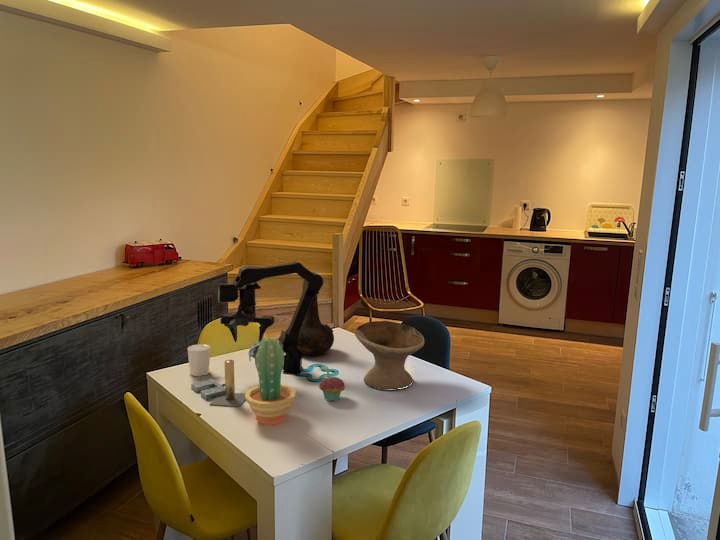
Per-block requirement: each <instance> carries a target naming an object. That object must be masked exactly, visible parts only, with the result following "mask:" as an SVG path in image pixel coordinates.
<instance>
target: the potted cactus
mask: <svg viewBox="0 0 720 540" xmlns="http://www.w3.org/2000/svg"><path fill="white" fill-rule="evenodd" d="M284 356H285V353H284V351H283V349H282V348H281V346H280V345H279V341H278V339H276V337H273V338H270V337H266V338H263V339H262V340H261V341H260V342H259V341H255V343H253V344H252V345H251V347H250V349H249V351H248V361H249V362H250V363H251V362H252V358H253V359H254V363H255V364H254V366H255V369H256V371H257V373H258V384H259V385H258V386H254V387H252V388H250V389H248V390H247V391H246V392H245V393H244V394H245V399H246V400H245V402H246V403H248V405H249V407H250V410H251V412H252V413H254V415H255V416H256V418H255V421H256V422H257V423H258V424H261V425H269V426H270V425H271V426H272V425H276V424H281V423H282V422H284V421H285V419H286V414H287V413H288V411H289V410H290V407H291V404H292V402H294V400H295V397H296V390H295V389H293V388H292V387H291V386H288V385H284V384H281V383H282V373H283V366H284Z"/></svg>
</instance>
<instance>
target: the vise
mask: <svg viewBox="0 0 720 540" xmlns="http://www.w3.org/2000/svg"><path fill="white" fill-rule="evenodd" d="M190 387H191V390H192V389H193V392H195V393H200V397H201V398H202V399H204V400H205V401H209V400H214V399H215V398H216V397H217V396H220V395H224V394H225V383H221V384H220V383H219V382H217V381H216V380H215V379H213V378H209V379H205V380H201V381H197V382H194V383H191V385H190Z"/></svg>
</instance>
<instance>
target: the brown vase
mask: <svg viewBox="0 0 720 540" xmlns="http://www.w3.org/2000/svg"><path fill="white" fill-rule="evenodd" d="M319 294H320V291H319V292H318V293H317V294H316V295H315V296H314V298H313V299H312V302H311V304H310V307H309V309H308V312H307V314H306V317H305V319H304V322H303V324H302V327H301V329H300V332H299V342H298V348H299V349H300V350H301V351H302V352H303V355H304V356H311V357H313V356H316V357H317V356H321V355H323V354H325V353H327V352H329V350H330V349H331V348H332V347H333V345H334V342H335V335H334V330H333V328H331V327H330V326H329V325H328V324H324V323H322V322H321V319H320V314H319V305H318V295H319Z"/></svg>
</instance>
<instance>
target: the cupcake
mask: <svg viewBox="0 0 720 540" xmlns="http://www.w3.org/2000/svg"><path fill="white" fill-rule="evenodd" d="M326 376H327V377H325V378H323V379H321V381H320V382H319V387H318V388H319V390H321V391H322V394H323V397H324V399H325V400H326V399H327V400H326V401H328V400H336V401H338V400H339V399H340V395H341V393H342V391H344V390H345V388H346V384H345V382H344V380H343V379H341V378H340V377H337V376H330V369H329V366H328V365H327V364H326ZM337 399H338V400H337Z"/></svg>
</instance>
